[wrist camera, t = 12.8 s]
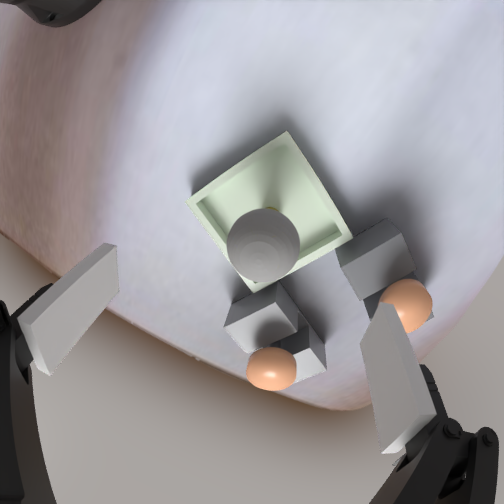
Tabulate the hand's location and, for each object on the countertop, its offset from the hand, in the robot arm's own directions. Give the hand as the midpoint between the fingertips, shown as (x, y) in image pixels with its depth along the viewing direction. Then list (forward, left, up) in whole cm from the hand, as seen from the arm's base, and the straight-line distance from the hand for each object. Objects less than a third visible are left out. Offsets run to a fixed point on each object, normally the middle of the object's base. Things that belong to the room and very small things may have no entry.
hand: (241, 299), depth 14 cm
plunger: (+13, -7, -14) cm, 21 cm away
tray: (+1, 0, -17) cm, 17 cm away
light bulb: (+1, 0, -16) cm, 16 cm away
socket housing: (+13, 0, -17) cm, 21 cm away
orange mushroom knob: (+13, +7, -14) cm, 20 cm away
